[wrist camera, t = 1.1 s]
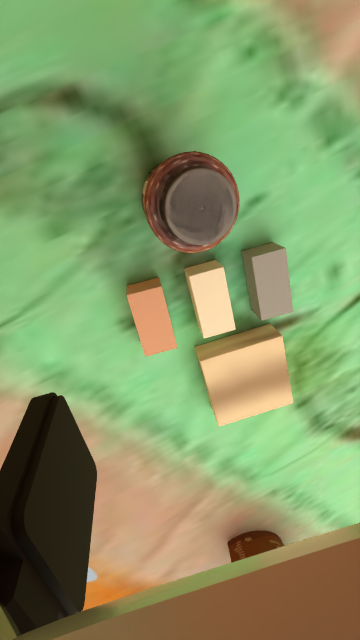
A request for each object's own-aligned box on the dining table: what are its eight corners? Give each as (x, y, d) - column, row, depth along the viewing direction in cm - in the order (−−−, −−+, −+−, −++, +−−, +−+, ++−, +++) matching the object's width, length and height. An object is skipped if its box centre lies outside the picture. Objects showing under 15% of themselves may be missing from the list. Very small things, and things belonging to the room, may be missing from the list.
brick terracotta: (126, 285, 31) (126, 295, 28) (158, 277, 31) (161, 286, 28) (143, 341, 33) (145, 356, 30) (173, 334, 33) (177, 347, 30)
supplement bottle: (207, 154, 27) (255, 137, 17) (214, 229, 30) (260, 254, 19) (134, 165, 27) (137, 154, 16) (147, 240, 29) (157, 271, 19)
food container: (307, 545, 49) (349, 629, 39) (276, 569, 50) (309, 656, 41) (252, 511, 44) (285, 597, 35) (220, 538, 45) (243, 628, 36)
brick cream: (183, 268, 31) (189, 276, 28) (215, 259, 31) (223, 266, 28) (197, 325, 33) (204, 338, 30) (226, 317, 33) (235, 329, 31)
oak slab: (194, 346, 34) (200, 361, 31) (269, 323, 34) (282, 335, 31) (212, 408, 37) (218, 426, 34) (281, 386, 37) (293, 403, 34)
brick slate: (240, 250, 31) (251, 257, 28) (271, 242, 31) (285, 247, 28) (250, 309, 33) (261, 320, 31) (279, 301, 33) (292, 311, 31)
